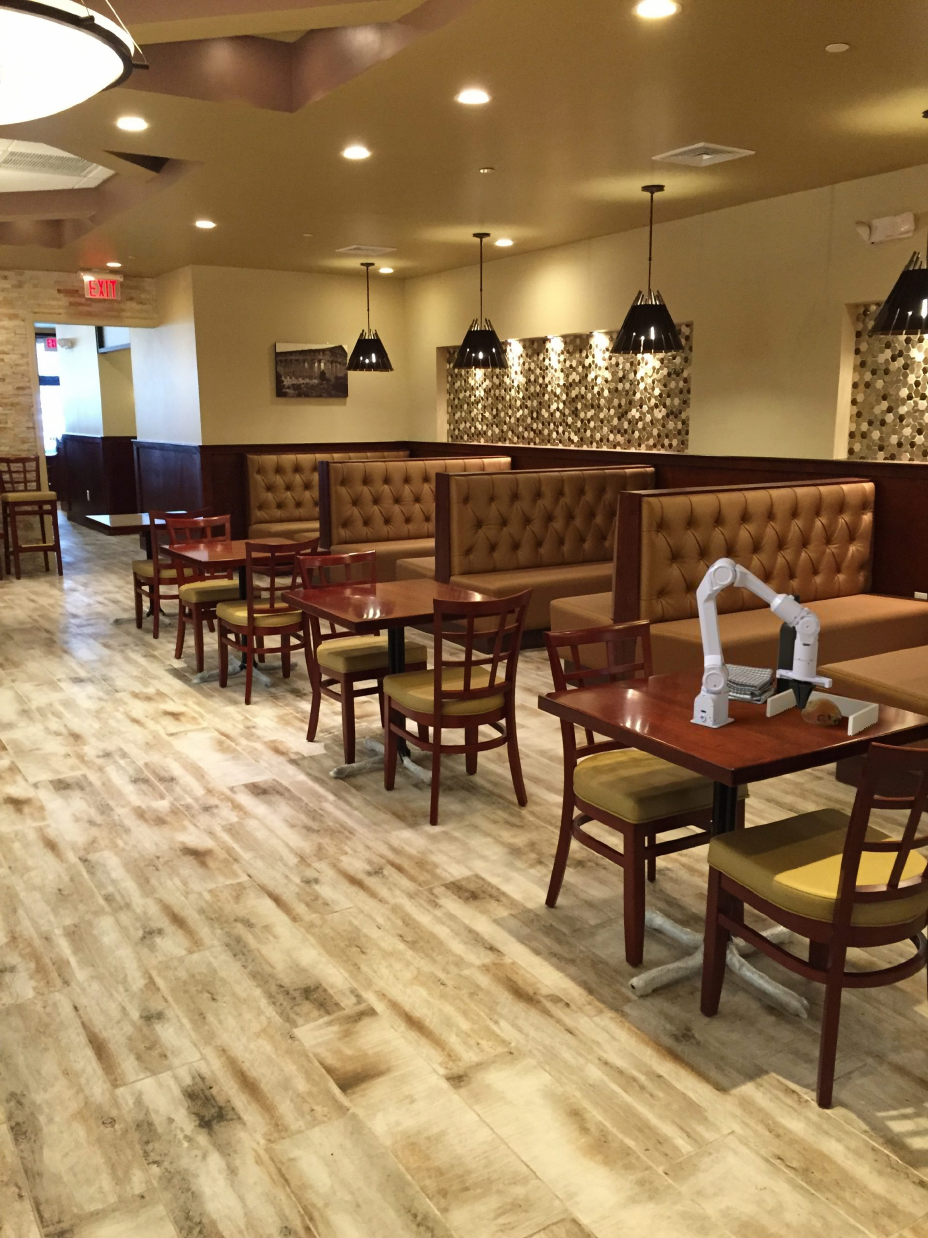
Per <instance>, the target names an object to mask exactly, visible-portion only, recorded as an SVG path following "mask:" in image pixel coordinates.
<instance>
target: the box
mask: <svg viewBox="0 0 928 1238" xmlns="http://www.w3.org/2000/svg"><path fill="white" fill-rule="evenodd" d="M818 698H826V699H829V700H831V701H833V702H834V703H835V704H836V705H837V706H838V708H839V709H840V711H841V714H842V715H841V717H847V718H848V726H847V735H848V736H850V735H851V737H852V736H854V735H856V734H858V733H860V732H861V731H863V730H865V729H867V728H869V727H871V726H872V725H871V724H873V723H875V724H876V722H877V723H878V720H879V707H880V706H879V705H880V704H879V703H876V702H875V703H874V702H870V701H864V700H860V699H856V698H855V699H854V698H850V697H845V696H840V695H834V694H830V693H825V692H821V691H815V690H813V691H812V693H811V695H810V697H809V699H808V702H809V701H810V700H813V699H818ZM766 700H767V701H766V717H768V718H771V717H773V716H775V715H777V714H780V713H782V712H785V711H787V710H789V709H791V708H793V706H794V707H796V706H795V705H797V703H796V699H795V695H794V692H793V690H792V689H790V690H788V691H785V692H783V693H780V694H776V695H772V696H770V697H769V698H768V699H766ZM788 708H789V709H788ZM786 709H787V710H786ZM784 710H785V711H784ZM870 725H871V726H870ZM873 725H874V724H873ZM868 726H869V727H868ZM866 727H867V728H866ZM864 728H865V729H864ZM859 731H860V732H859Z"/></svg>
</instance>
